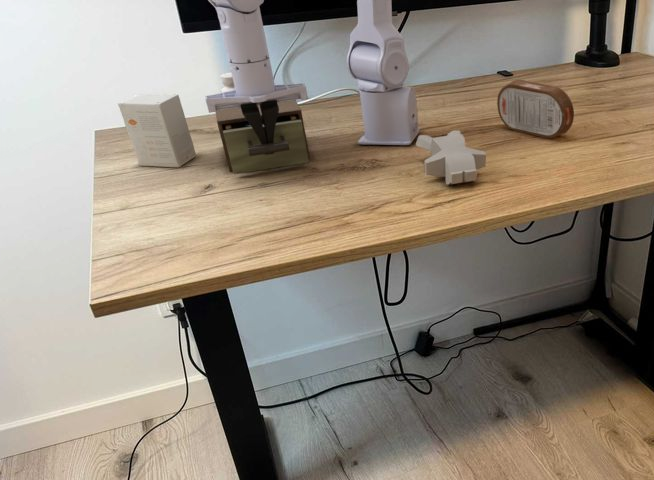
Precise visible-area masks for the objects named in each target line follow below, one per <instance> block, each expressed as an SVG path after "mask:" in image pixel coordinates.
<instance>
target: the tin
mask: <svg viewBox="0 0 654 480" xmlns="http://www.w3.org/2000/svg"><path fill="white" fill-rule="evenodd" d="M496 101H497V102H496V104H497V112H498V115H499V118H500V120H501V121H502V123H503V124H504V125H505V126H506V127H507V128H508V129H510V130H511V131H515V132H518V133H519V132H520V133H522V134H527V135H532V136H535V137H539V138H544V139H548V140H549V139H554V138H557V137H560V136H561V135H564V134H566V133H567V132H568V131H569V130H570V128H571V127H572V126H573V122H574V118H575V109H574V105H573V102H572V99H571V98H570V96H569V95H568V93H567V92H565V90H564V89H562V88H561V87H559V86H556V85H551V84H546V83H541V82H537V81H529V80H525V79H515V80H512V81H511V82H510V83H507V84H505V85H504V86H503V87H502V88H501V89H500V90H499V93H498V95H497V100H496Z"/></svg>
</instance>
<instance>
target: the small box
mask: <svg viewBox="0 0 654 480" xmlns="http://www.w3.org/2000/svg"><path fill="white" fill-rule="evenodd" d="M117 105H118V109H119V112H120V115H121V117H122V120H123V122H124V126H125V128H126V132H127V134H128V138H129V140H130V143H131V145H132V149H133V151H134V154H135V158H136V160H137V163H138V165H139V166H140V167H158V168H159V167H162V168H181V167H182V166H183V165H185V164H186V163H188V162H190V161H191V160H193V159H194V158H196V157H197V152H196V149H195V146H194V143H193V139H192V134H191V132H190V129H189V125H188V122H187V119H186V116H185V112H184V109H183V105H182V102H181V98H180V95H179V94H157V93H156V94H155V93H154V94H153V93H151V94H148V93H138V94H136V95H133V96H131V97H129V98H127V99H125V100H122V101H119V102H118V103H117Z"/></svg>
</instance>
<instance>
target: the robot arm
mask: <svg viewBox="0 0 654 480" xmlns="http://www.w3.org/2000/svg"><path fill="white" fill-rule="evenodd" d="M207 1H208V2H209V3H210V5H212V6H213V8H215V11H216V13H217V18H218V21H219V26H220V30H221V33H222V34H221V35H222V38H223V42H224V46H225V47H224V48H225V51H226V55H227V60H228V64H229V69H230V72H231V73H232V77H233V82H234V86H235V90H234V91H229V92H224V93H221V92H220V93H216V94H211V95H210V94H209V95H204V96H205V97H204V98H205V99H204V100H205V104H206V107H207V111H208V113H215V112H216V110H223V109H231V108H238V107H241V110H242V114H243V115H244V117H245V118H246V120H247V121H248V122H249V124H250V125H251V127H252V128H253V130H254V131H255V133H256V135H257V136H258V138H259V140H260V142H261V144H268V143H274V131H275V125H276V121H277V117H278V113H279V107H278V104H277V102H282V101H289V100H296V101H297V100H301V101H304V100H305V101H306V100H308V99H309V96H308V91H307V85H306V84H305V83H304V82H302V83H292V84H291V83H290V84H288V83H287V84H275V79H274V74H273V69H272V63H271V59H270V54H269V48H268V45H267V38H266V34H265V33H266V32H265V28H264V23H263V19H262V13H261V8H260V6H261V5H262V4H264V1H265V0H207ZM356 6H357V24H356V26H355V27H354V28H353V30H352V31H351V32H350V35H349V49H348V52H347V55H346V66H347V67H346V68H347V70H348V72H349V73H348V74H350V76H351V77H352V78H353V79H355V83H356V86H357V87H358V91H359V101H360V107H361V115H362V123H363V131H364V133H363V135H362V136H361V137H360V138H359V140H358V141H357V144H358V145H373V146H374V145H376V146H377V145H379V146H410V145H411V144H412V143H413V141H414V140H415V139H416V137H417V136H418V134H419V133H420V130H421V129H420V128H419V116H418V114H419V113H418V101H417V94H416V90H415V88H414V87H413V86H406V85H404V83H405V81H406V79H407V77H408V74H409V70H410V69H409V67H410V64H409V58H408V55H407V53H406V50H405V39H404V37H403V36H402V34H401V33H400V31H398V29H397V28H396V27H395V26H394V24H393V11H392V10H393V8H392V7H393V6H392V0H356ZM258 105H260V109H261V113H262V118H263V122H264V127H265V133H266V138H265V135H264V130H263V125H262V120H261V115H260V112H259V108H258ZM266 141H267V142H266ZM268 154H274V153H267V154H265V155H268Z"/></svg>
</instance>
